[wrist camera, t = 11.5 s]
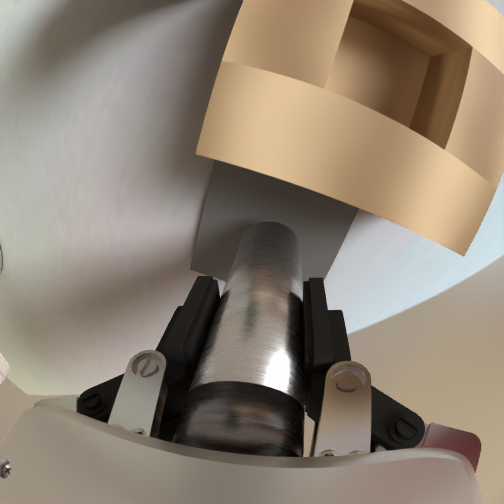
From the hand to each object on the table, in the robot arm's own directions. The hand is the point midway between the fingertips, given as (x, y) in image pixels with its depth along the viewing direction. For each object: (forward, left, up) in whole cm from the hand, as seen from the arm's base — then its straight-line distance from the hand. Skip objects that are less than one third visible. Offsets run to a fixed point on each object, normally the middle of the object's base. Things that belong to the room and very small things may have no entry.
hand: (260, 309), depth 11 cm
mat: (0, 0, -8) cm, 8 cm away
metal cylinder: (0, 0, -5) cm, 5 cm away
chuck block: (+3, +11, -8) cm, 14 cm away
